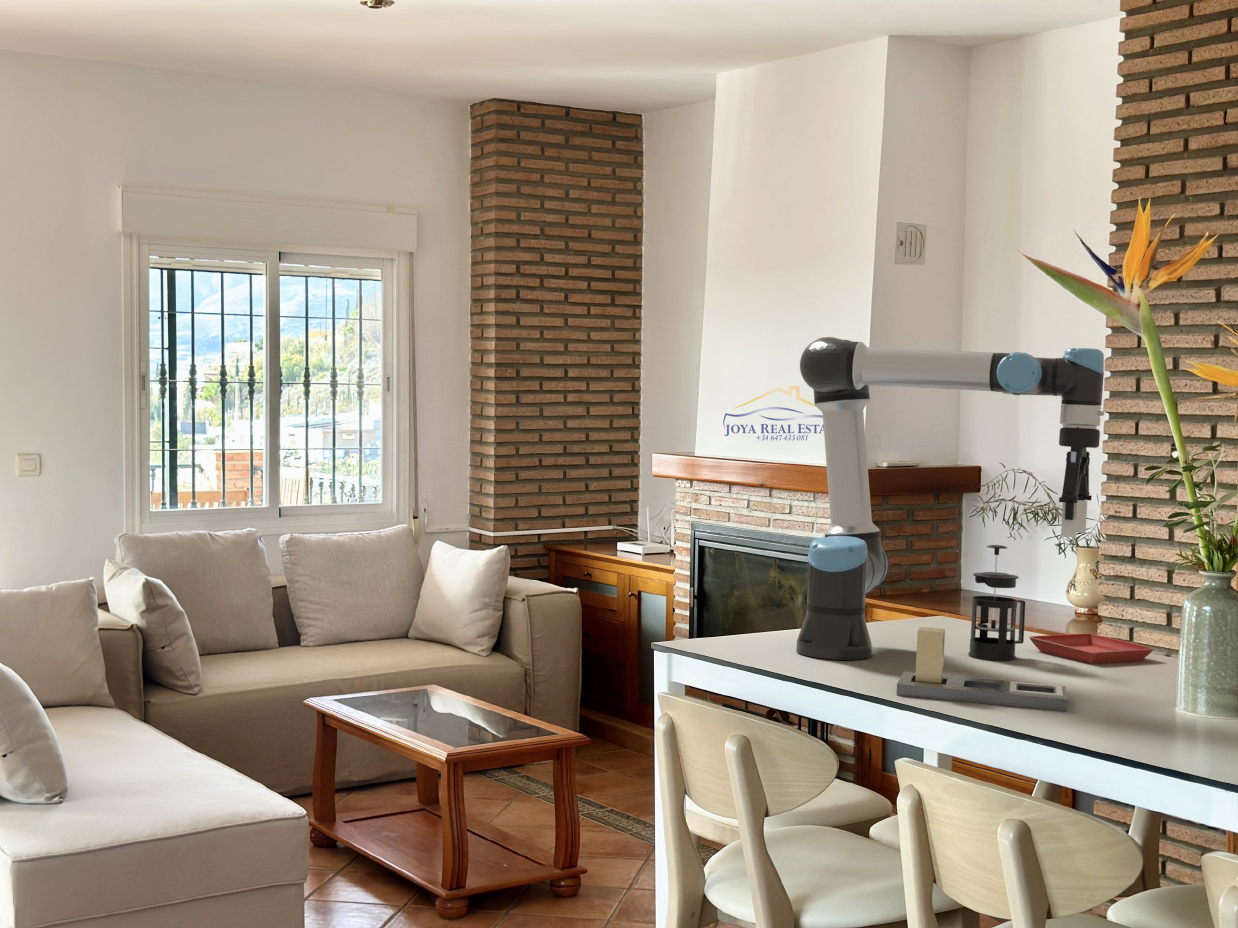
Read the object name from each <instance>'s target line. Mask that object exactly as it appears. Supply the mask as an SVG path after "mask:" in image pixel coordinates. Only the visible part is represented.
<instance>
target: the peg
mask: <svg viewBox="0 0 1238 928" xmlns="http://www.w3.org/2000/svg"><path fill="white" fill-rule="evenodd" d="M945 633H946V629H945V628H938V627H926V626H919V628H918V629H917V636H916V637H917V638H916V655H915V656H916V658H915V661H916V662H915V673H916V677H915V682H919V683H930V684H941V685H942V684H943V675H944V663H945V662H944V660H945V659H944V658H945V657H944V656H945V641H946V640H945V638H946V637H945V635H946V634H945Z"/></svg>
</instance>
